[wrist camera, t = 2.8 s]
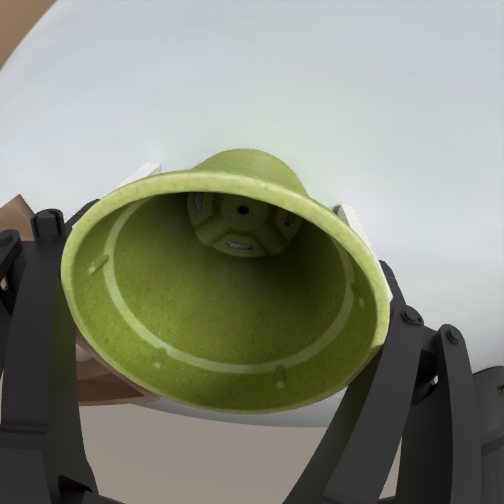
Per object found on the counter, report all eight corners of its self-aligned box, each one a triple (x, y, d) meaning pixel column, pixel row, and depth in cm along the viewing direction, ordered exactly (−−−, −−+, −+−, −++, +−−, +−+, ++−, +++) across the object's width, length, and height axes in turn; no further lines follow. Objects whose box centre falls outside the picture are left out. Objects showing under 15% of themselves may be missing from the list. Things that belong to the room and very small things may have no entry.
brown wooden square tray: (173, 355, 23) (159, 400, 19) (82, 378, 30) (70, 406, 26) (19, 193, 15) (-22, 226, 11) (-18, 280, 22) (-39, 304, 18)
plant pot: (356, 128, 12) (453, 213, 5) (318, 286, 17) (330, 422, 10) (156, 110, 12) (23, 172, 5) (166, 267, 17) (110, 388, 10)
